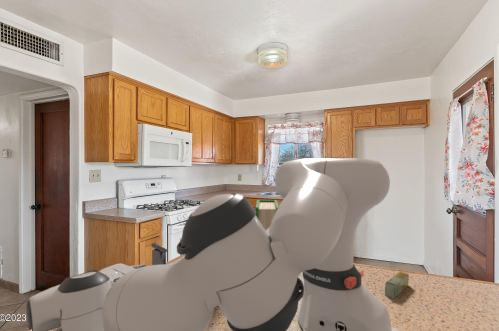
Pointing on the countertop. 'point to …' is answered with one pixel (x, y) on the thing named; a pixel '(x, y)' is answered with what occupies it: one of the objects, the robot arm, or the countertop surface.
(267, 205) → the hardback book
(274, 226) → the robot arm
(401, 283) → the medication box
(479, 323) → the countertop surface
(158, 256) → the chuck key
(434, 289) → the countertop surface
